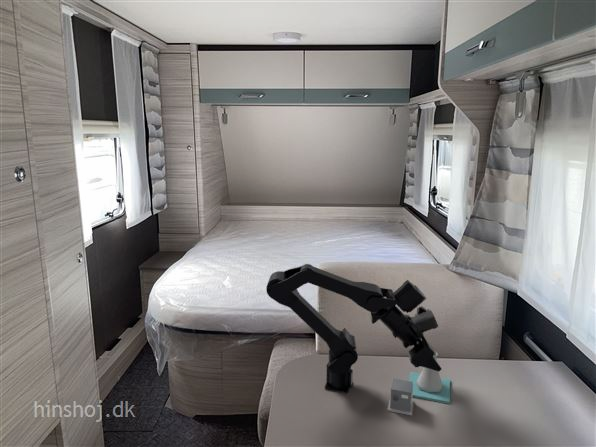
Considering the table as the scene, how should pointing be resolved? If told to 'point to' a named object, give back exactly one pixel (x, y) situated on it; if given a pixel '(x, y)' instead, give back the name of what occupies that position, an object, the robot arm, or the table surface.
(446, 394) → the mat
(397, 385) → the box
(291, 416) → the table surface
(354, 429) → the table surface
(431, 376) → the flask
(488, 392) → the table surface
